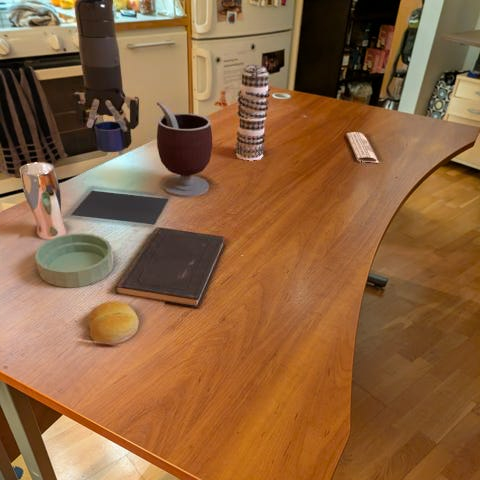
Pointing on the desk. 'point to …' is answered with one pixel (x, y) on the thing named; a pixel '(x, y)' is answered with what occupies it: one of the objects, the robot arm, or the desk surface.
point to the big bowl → (74, 260)
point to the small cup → (109, 136)
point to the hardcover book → (173, 267)
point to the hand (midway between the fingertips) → (111, 145)
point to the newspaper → (361, 147)
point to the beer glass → (43, 198)
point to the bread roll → (112, 322)
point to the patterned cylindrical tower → (252, 112)
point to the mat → (121, 207)
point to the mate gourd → (184, 151)
